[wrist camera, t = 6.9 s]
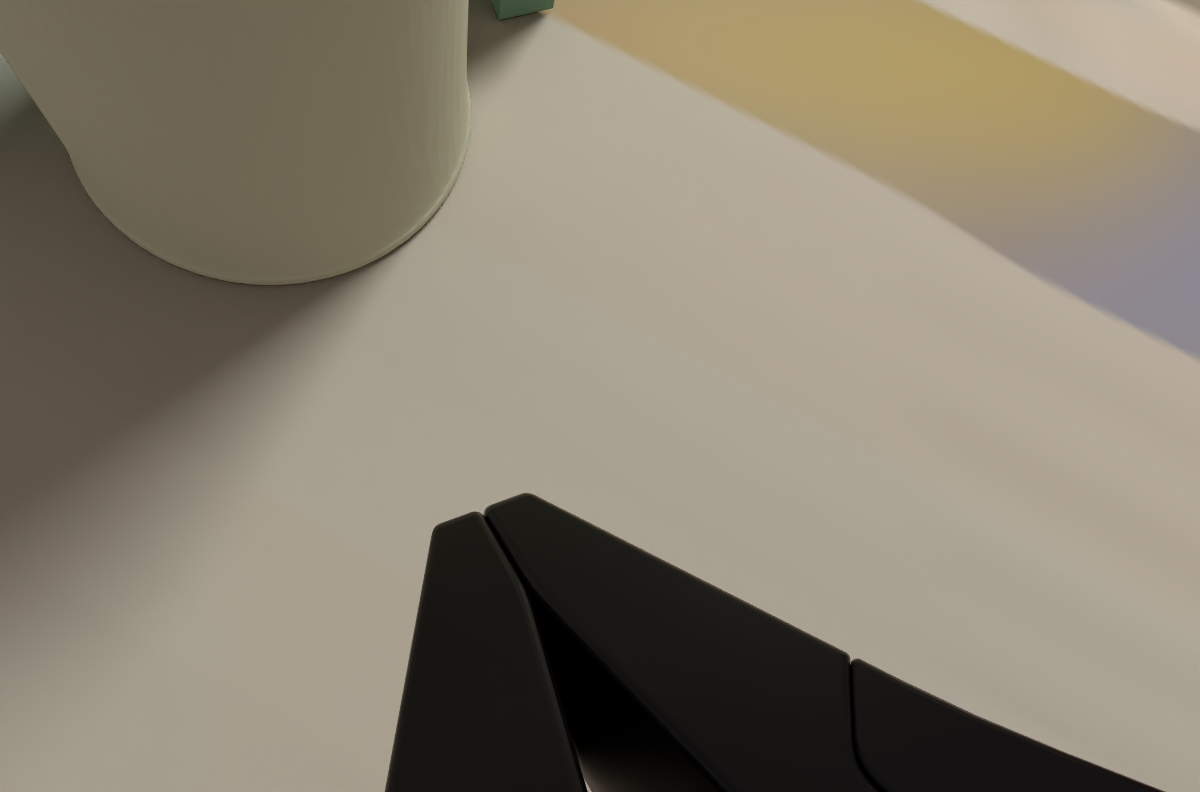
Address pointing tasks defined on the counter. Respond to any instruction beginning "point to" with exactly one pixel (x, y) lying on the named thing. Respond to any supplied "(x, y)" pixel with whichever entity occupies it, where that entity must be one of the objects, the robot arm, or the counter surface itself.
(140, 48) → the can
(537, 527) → the robot arm
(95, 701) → the counter surface
